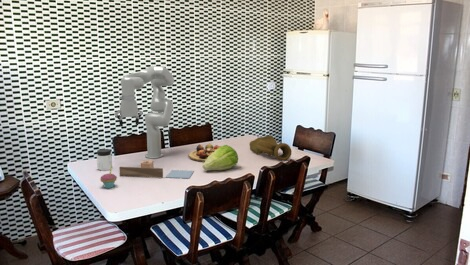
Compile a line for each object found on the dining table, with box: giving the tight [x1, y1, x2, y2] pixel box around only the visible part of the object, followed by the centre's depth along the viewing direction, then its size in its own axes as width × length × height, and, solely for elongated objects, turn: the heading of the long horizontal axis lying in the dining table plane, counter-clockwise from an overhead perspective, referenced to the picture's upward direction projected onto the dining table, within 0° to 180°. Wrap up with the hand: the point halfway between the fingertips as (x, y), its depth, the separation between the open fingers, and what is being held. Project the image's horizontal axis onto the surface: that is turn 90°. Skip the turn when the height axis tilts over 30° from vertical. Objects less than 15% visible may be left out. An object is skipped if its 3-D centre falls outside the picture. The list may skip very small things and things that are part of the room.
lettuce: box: [202, 144, 239, 171], centre depth 241 cm, size 15×24×16 cm
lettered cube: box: [140, 160, 154, 168], centre depth 235 cm, size 6×6×6 cm
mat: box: [165, 169, 195, 180], centre depth 229 cm, size 14×14×1 cm
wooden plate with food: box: [188, 143, 222, 163], centre depth 270 cm, size 32×32×8 cm
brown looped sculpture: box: [249, 134, 292, 161], centre depth 272 cm, size 23×16×28 cm
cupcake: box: [100, 165, 118, 189], centre depth 206 cm, size 9×8×12 cm
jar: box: [96, 148, 113, 171], centre depth 238 cm, size 9×8×12 cm
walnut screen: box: [119, 166, 164, 179], centre depth 224 cm, size 2×26×6 cm, turn 85°
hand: (129, 125), depth 233 cm, fingers open, 9 cm apart
